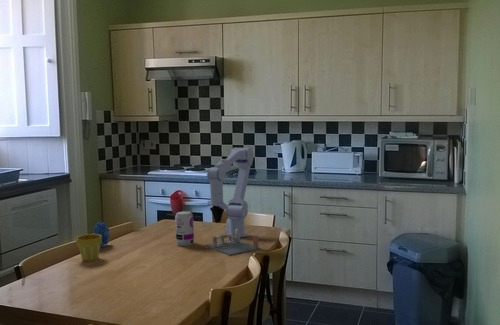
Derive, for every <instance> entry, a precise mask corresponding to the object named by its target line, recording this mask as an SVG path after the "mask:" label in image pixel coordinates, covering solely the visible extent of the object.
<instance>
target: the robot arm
mask: <svg viewBox="0 0 500 325" xmlns="http://www.w3.org/2000/svg"><path fill="white" fill-rule="evenodd" d="M254 157H255V154H254V150H253V148H252V147H236V146H235V147H233V148H232V149H231V151H230V154H229V155H228V157H226V158H221V159H220V161H219V162H218V163H216V164H215V165H214V167H212V166H211V167H210V168H209V169H208V170H207V173H206V177H207V180H208V184H210V185H209V189H210V200H208V201H207V206H212V207H209V210H210V212H211V214H212V216H213V220H214V222H215V223H216V224H218V223H221V221H222V216H223V214H224V211H225V214H226V217H227V219H226V221H225V222H226V223H225V224H226V225H225V226H226V229H225V230H226V233H225V234H224V235H226V234H231V233H235V229H239V237H240V238H244V237H249V234H247V233H245V219H246V218H247V216H248V211H249V210H248V206H249V204H248V203H247V201H245V194H246V189H247V186H248V180H249V175H250V170H251V167H252V165H253V161H254ZM234 163H235V165H236V166H238V168H239V169H238V174H237V179H236V183H235V189H234V192H233V193H234V194H233V197H232V198H230V199H229V200H228V203H227V204H226V203H225V202H224V188H223V187H224V184H223V180H224V179H225V176H226V174H227V173H228V172H229V171H230V170H231V167H232V165H233V164H234ZM231 239H233V236H232V237H231ZM235 239H236V234H235Z"/></svg>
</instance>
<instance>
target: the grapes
mask: <svg viewBox="0 0 500 325" xmlns="http://www.w3.org/2000/svg"><path fill="white" fill-rule="evenodd" d="M92 230H93V233H92V234H99V235H101V236H102V243H101V244H100V248H103V247H104V246H106V245H108V243H109V239H110V238H111V235H110V234H109V232H110V228H109V227H108V226H107V224H106V223H105V222H100V221H98V222H97V223H96V225H95V226H93V229H92Z"/></svg>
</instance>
